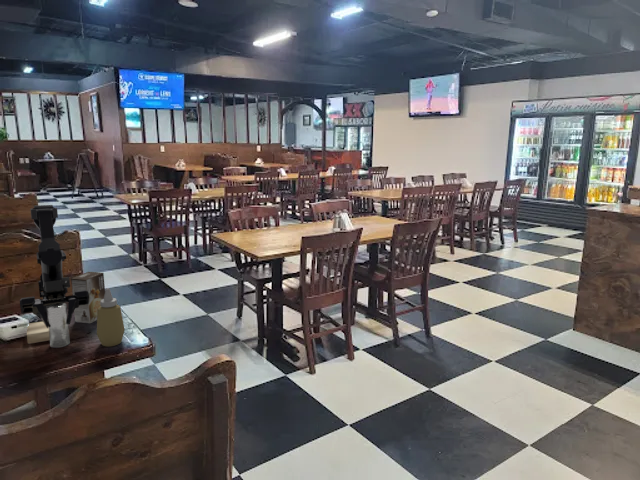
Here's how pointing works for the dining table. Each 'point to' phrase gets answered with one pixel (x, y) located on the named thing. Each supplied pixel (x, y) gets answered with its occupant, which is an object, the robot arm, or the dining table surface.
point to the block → (37, 332)
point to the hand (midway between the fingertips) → (58, 325)
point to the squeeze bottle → (109, 321)
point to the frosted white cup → (58, 325)
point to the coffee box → (96, 293)
